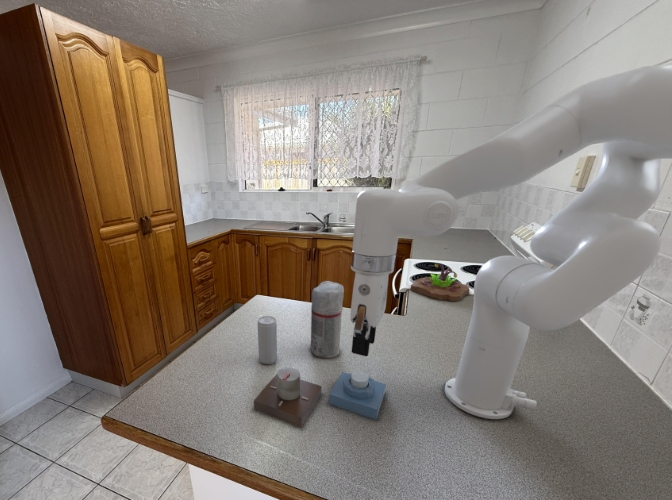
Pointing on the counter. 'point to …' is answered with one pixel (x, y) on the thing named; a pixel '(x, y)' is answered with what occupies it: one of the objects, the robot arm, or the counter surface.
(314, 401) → the base
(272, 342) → the beverage can
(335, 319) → the spray can
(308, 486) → the counter surface
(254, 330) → the counter surface
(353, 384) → the white button cap
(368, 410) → the button base
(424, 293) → the plant
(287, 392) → the lock knob
